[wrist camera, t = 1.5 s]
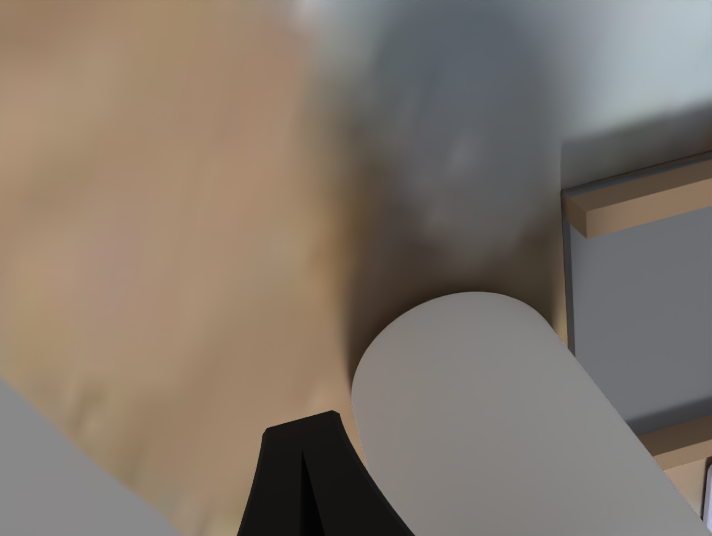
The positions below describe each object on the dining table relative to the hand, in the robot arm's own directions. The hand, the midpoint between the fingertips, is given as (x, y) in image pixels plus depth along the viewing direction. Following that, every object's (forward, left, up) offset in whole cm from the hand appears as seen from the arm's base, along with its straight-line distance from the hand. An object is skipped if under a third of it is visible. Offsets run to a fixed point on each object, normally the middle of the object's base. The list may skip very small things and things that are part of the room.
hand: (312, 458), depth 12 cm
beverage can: (-8, -5, -11) cm, 14 cm away
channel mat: (-8, -15, -10) cm, 20 cm away
